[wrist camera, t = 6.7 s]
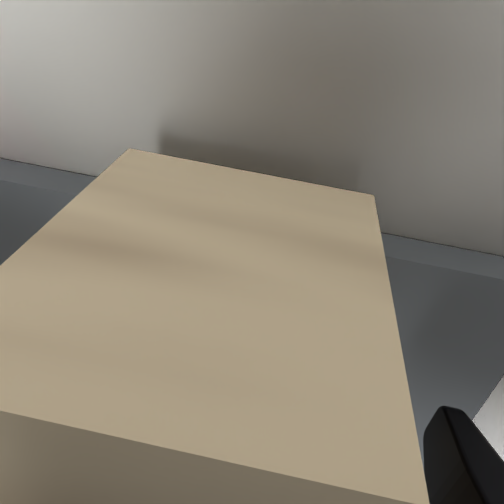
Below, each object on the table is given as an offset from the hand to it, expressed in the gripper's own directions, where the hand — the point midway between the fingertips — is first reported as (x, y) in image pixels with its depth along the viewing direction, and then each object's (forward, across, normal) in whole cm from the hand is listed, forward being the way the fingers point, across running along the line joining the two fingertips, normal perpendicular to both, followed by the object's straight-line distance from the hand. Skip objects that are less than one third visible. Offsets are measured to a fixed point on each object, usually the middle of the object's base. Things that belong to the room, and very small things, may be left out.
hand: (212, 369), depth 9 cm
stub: (+2, 0, 0) cm, 2 cm away
